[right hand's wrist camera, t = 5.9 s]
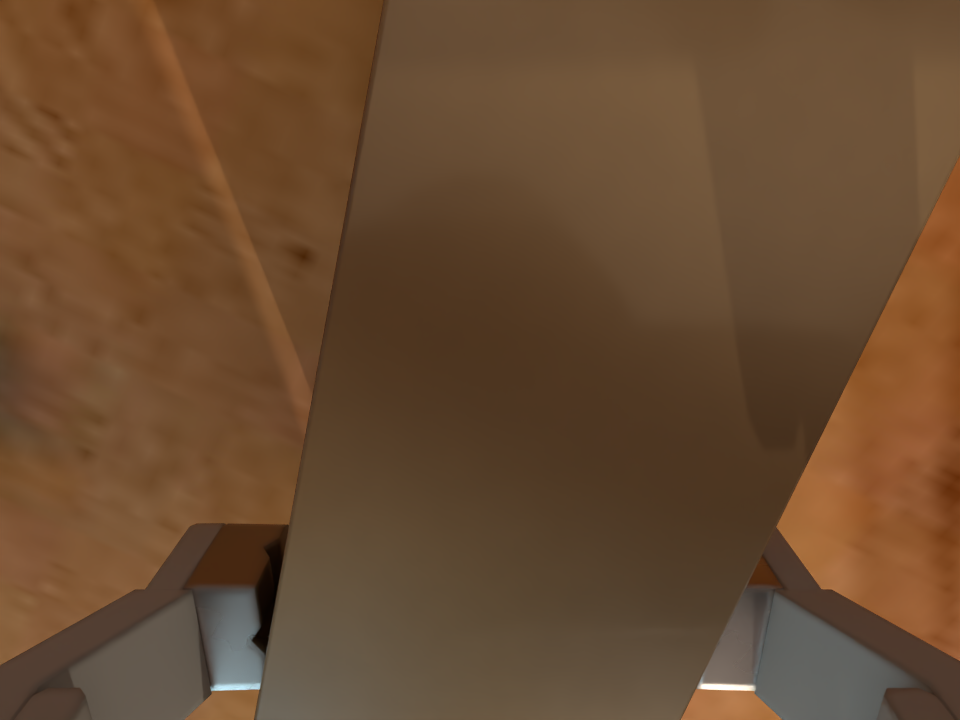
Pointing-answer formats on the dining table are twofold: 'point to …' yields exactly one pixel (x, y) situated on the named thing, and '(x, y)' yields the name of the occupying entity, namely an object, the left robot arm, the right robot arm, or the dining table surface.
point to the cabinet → (591, 339)
